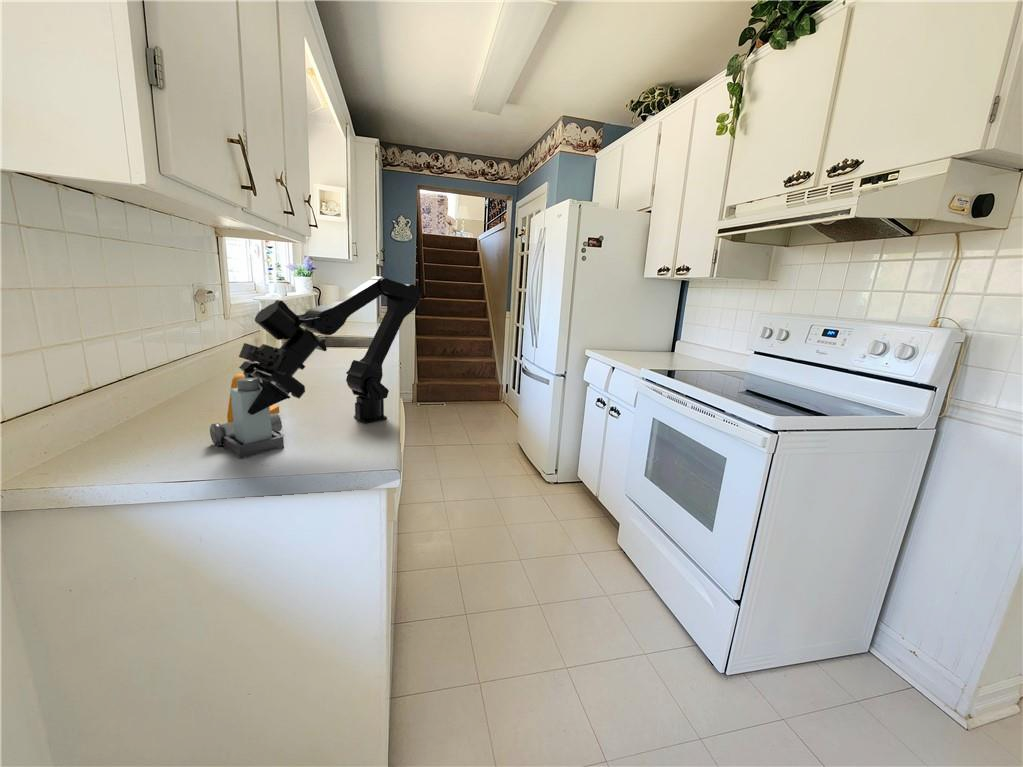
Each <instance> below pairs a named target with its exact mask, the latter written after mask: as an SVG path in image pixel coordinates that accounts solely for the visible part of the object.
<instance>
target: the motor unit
mask: <svg viewBox="0 0 1023 767" xmlns="http://www.w3.org/2000/svg"><path fill="white" fill-rule="evenodd" d="M270 419H271V431H272V438H270V439H266V440H262V441H258V442H253V443H249V444H243V443H242V442H240V441H238V440H237V439H235V431H234V422H230V423H228V422H226V423H221V424H220V423H218V422H217V423H212V424H210V425H209V426H210V427H209V434H210V438H211V441H212V443H213V445H214V446H215V447H218V446H222V447H223V448H224V449H225V450H226V451H228V452H229V453H231V454H232V455H233V456H235V457H237V458H239V459H240V460H242V459H246V458H248V457H253V456H256V455H260V454H261V455H262V454H264V453H268V452H271V451H272V452H273V451H275V450H281V449H283V448H285V444H284V443H285V442H284V436H283V435H281V434H279V432H282V429H283V427H282V426H283V424H282V419H281V417H280V415H279V413H278V414H271V415H270Z"/></svg>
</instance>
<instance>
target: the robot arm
mask: <svg viewBox="0 0 1023 767" xmlns="http://www.w3.org/2000/svg"><path fill="white" fill-rule="evenodd" d="M380 296H383V297H385V298H386V312H385V314H384V315H383V318H382V320H381V321H380V324H379V326H378V328H377V330H376V332H375V333H374V337H373V339H372V340H371V342H370V345H369V346H368V348H367V351H366V353H365V355H364V356H363V357H362V358H361V359H360V360H357V359H356V360H355V359H353V360H352V362H351V363H350V364H351V365H350V367H349V369H348V371H346V373H345V374H346V380H345V381H346V384H347V387H348V388H349V389H351V392H352V394H353V395H354V396H356V402H355V403H354V416H353V418H354V419H357V420H359V421H360V422H362V423H364V424H368V423H373V422H378V421H382V420H386V419H388V416H386V415H385V409H384V405H385V403H384V401H385V400H384V399H387V398H388V394H389V392H390V390H389V389H388V388H387V387H386V386H384V384H383V383H382V379H383V376H384V374H383V364H384V361H385V360H386V357H387V355H388V353H389V352H390V349H391V346H392V344H393V343H394V340H395V338H396V336H397V334H398V332H399V330H400V328H401V325H402V324H403V321H404V320H405V318H406V317H407V316H409V315H410V314H411V313H412V312H413V311H415V309H416V307H417V306H418V305H419V304H420V301H421V299H422V298H421V297H422V294H421V290H420V289H419V287H418V286H417V285H415V284H412V283H411V284H409V283H408V284H407V283H401V282H397V281H395V280H391V279H389V278H387V277H385V276H384V277H383V276H372V277H371V278H370V279H369V280H368V281H366V282H364V283H363V284H361V285H359V286H358V287H356V288H355V289H353V290H351V291H349V292H348V293H346V294H344V295H343V296H342V297H340V298H338V299H337V300H334V301H332V302H329V303H323V304H319V305H317V306H315V307H312V308H310V309H308V310H307V311H305V313H303V314H296V313H295V312H294V311H293V310H291V309H290V308H289V307H288V305H287V303H285V302H284V301H283V300H280V299H279V300H278V299H275V302H273V303H271V304H268V305H267V306H265V307H264V308H261V309H260V310H259V311H258V313H257V314H256V316H255V318H254V322H255V323H256V324H257V325H258V326H260V328H262V329H263V330H265V332H267V333H268V334H269V335H271V336H272V337H273V338H274V339H275V340H277V341H280V340H284V341H285V342H283V344H282V345H281V346H280V347H274V346H271V345H267V344H265V343H263V344H261V345H260V346H259V347H258V346H256V345H254V344H250V343H246V342H244V343H243V345H242V347H241V351H240V353H239V355H238V358H241V359H244V360H245V361H243V363H242V364H241V365H240V366H239V367H238V368H239V369H240V370H241V371H243V373H242V374H244V375H245V378H259V379H260V386H261V387H263V389H262V391H261V392H260V394H259V395H258V396H257V398H256V399H255V401H254V402H253V404H252V405H251V407H250V408H249V410H248V413H249V414H251V415H253V414H255V413H257V412H259V411H261V410H263V409H265V408H267V407H269V406H271V405H277V404H278V403H280V402H283V401H284V400H286V399H288V400H290V399H291V396H292V398H293V397H294V398H297V399H299V400H300V398H302V396H303V395H304V394H305V392H306V385H304V384H303V383H302V382H300V381H299V380H298V379H296V378H295V377H294V375H295V374H296V373H297V372H298V370H301V371H303V370H305V368H306V365H305V364H304V363H305V362H306V361H307V360H308V358H310V356H311V355H312V354H313V352H315V350H319V351H322V352H327V351H328V348H327V344H326V341H327V340H326V339H324V338H318V336H316V335H315V334H320V335H324V336H332V335H334V334H336V333H337V332H338V331H339V330H340V329H341V328H342V327H343V326H344V325H345V323H346V321H347V319H348V318H349V317H350V316H352V315H353V314H354V313H356V312H357V311H359V310H360V309H362V308H364V306H366V305H368V304H369V303H371V302H373V301H375V300H376V299H377V298H379V297H380ZM303 327H304V328H305V329H306V330H307V331H306V330H304V329H303ZM246 360H247V361H246ZM289 394H291V396H290V395H289Z"/></svg>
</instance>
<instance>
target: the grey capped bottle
mask: <svg viewBox="0 0 1023 767" xmlns="http://www.w3.org/2000/svg"><path fill="white" fill-rule="evenodd" d="M237 386H238V388H233V389H231V388H230V389H229V390H230V392H231V402H232V412H233V421H234V431H235V439H237V440H238V441H240V442H242V443H243V444H242V445H245V444H249V443H253V442H258V441H262V440H266V439H270V438H272V431H271V419H270V407H267V408H265V409H263V410H261V411H259V412H257V413H255V414H253V415H251V414H249V413H248V410H249V408H250V407H251V405H252V404H253V402H254V401H255V399H256V398H257V396H258V395H259V394H260V392H261V391H262V389H263V387H261V386H260V379H259V378H243V379H238V380H237ZM230 392H229V393H230Z"/></svg>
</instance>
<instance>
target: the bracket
mask: <svg viewBox="0 0 1023 767" xmlns="http://www.w3.org/2000/svg"><path fill="white" fill-rule="evenodd" d="M243 378H245V375H244V374H243V373H237V374H235V375H234V376H233V378H232V379H231V380H232V381H231V385H230V389H233V388H238V386H237V380H238V379H243ZM227 407H228V408H227V415H226V418H227V423H230V422H234V421H233V412H232V402H231V392H229V401H228V406H227ZM269 407H270V415H271V414H278V415H279V413H280V405H278V404H274V405H271V406H269Z"/></svg>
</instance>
